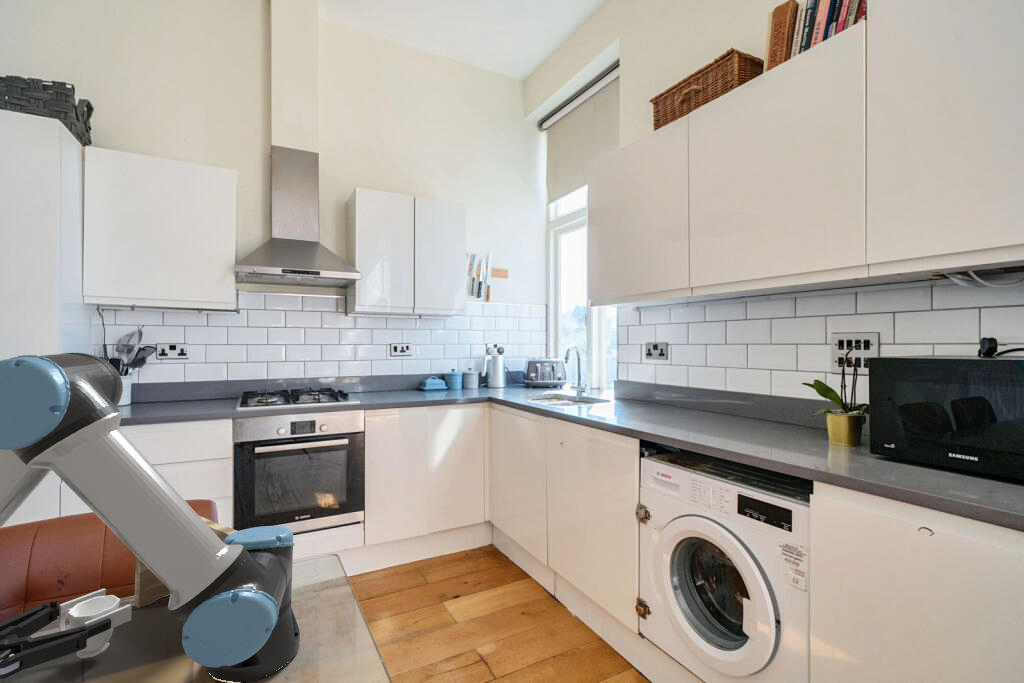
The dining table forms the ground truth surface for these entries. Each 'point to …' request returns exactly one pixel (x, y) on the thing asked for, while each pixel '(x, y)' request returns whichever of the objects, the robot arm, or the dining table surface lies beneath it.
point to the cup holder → (150, 585)
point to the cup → (88, 612)
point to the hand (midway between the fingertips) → (117, 603)
